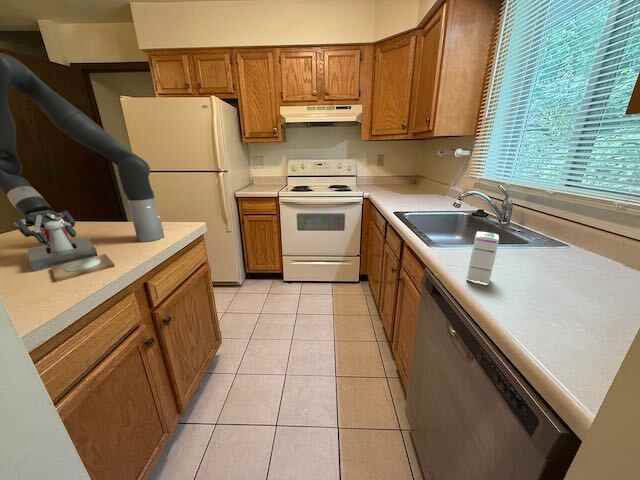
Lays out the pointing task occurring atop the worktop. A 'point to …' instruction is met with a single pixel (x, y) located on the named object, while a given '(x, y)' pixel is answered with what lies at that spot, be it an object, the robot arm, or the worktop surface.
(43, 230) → the soda can
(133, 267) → the worktop surface
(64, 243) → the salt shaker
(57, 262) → the collar block
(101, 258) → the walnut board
